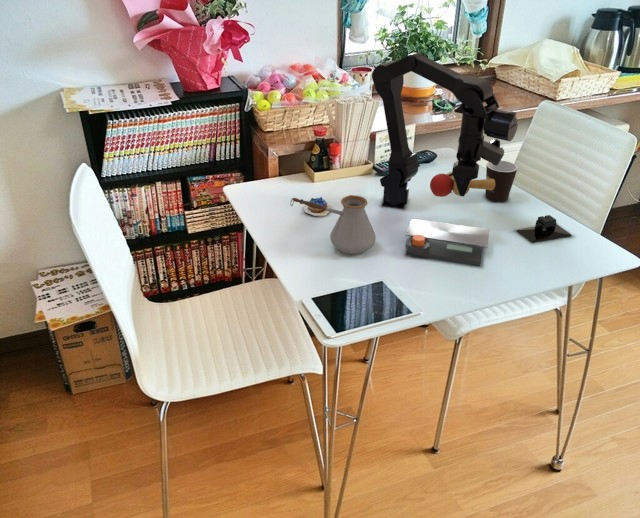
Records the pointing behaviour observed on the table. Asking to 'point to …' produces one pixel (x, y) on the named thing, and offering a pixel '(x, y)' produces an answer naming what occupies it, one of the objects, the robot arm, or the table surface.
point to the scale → (444, 252)
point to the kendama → (446, 183)
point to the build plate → (544, 230)
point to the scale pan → (449, 232)
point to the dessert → (314, 210)
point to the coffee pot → (349, 225)
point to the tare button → (418, 240)
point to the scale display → (459, 248)
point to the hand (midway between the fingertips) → (463, 189)
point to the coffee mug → (500, 180)
